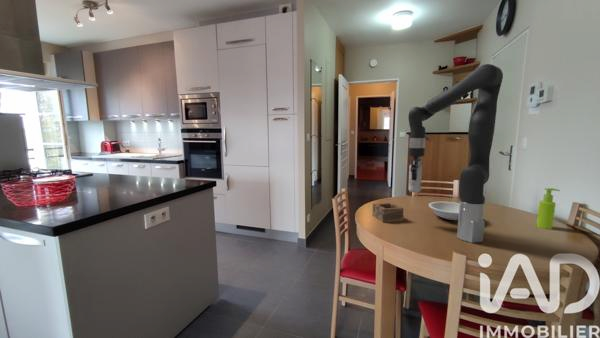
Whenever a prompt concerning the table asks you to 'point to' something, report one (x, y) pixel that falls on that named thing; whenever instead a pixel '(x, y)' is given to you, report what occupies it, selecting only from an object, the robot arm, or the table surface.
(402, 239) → the table surface
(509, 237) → the table surface
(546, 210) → the soap dispenser
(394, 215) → the square wooden frame
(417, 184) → the energy drink can
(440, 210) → the white vessel sink
